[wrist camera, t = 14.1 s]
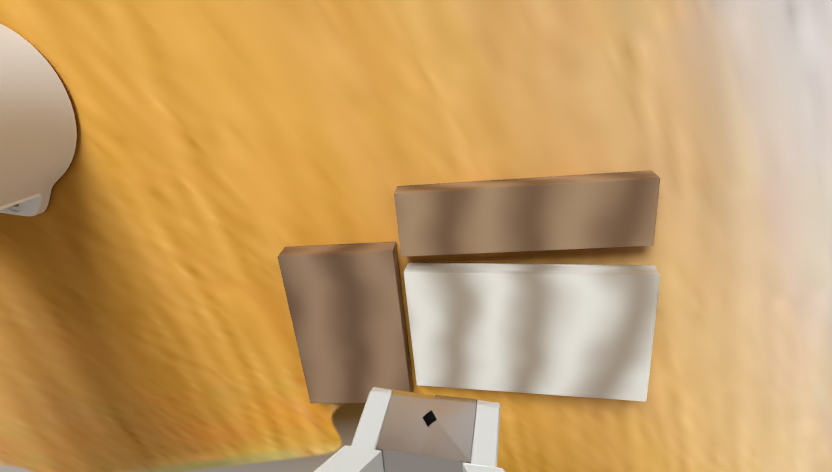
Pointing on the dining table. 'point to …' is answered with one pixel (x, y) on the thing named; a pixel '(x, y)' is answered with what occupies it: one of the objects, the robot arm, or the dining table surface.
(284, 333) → the dining table surface
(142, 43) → the dining table surface
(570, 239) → the walnut boards
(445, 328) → the ash plank
